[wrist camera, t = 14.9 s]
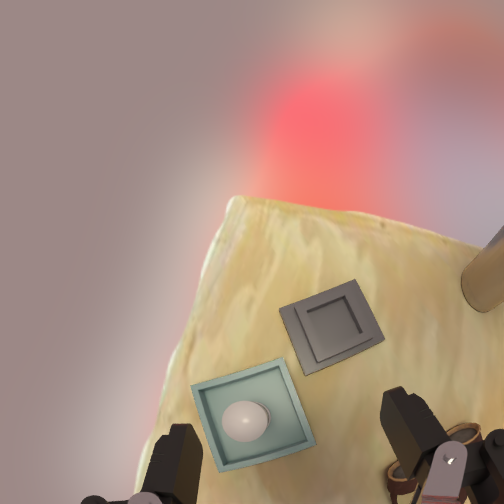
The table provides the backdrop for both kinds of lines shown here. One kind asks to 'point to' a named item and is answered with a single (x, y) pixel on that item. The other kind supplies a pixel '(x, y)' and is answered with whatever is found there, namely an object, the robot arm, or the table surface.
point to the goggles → (401, 486)
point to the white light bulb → (246, 420)
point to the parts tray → (255, 390)
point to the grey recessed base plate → (331, 326)
